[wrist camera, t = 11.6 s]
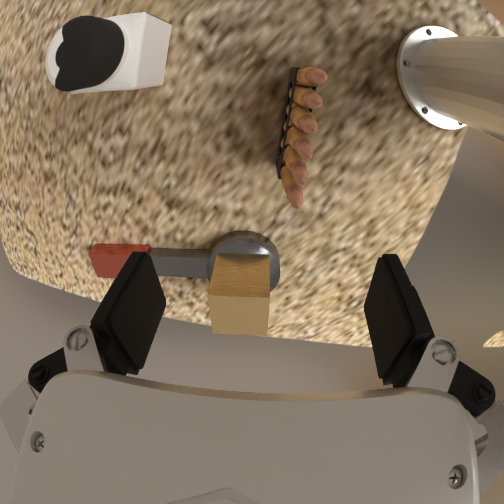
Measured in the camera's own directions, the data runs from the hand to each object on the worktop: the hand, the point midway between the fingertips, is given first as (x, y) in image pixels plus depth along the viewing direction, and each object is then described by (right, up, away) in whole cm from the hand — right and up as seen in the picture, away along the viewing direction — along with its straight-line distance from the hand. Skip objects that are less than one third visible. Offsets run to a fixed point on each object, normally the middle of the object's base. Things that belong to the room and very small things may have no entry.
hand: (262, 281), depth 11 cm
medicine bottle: (-12, +22, +10) cm, 27 cm away
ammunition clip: (+4, +15, +14) cm, 21 cm away
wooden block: (-1, -2, +23) cm, 23 cm away
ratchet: (-10, 0, +25) cm, 27 cm away
